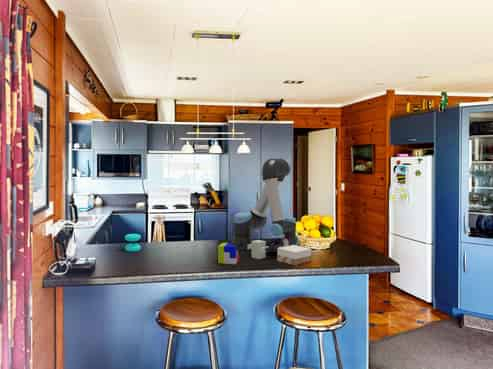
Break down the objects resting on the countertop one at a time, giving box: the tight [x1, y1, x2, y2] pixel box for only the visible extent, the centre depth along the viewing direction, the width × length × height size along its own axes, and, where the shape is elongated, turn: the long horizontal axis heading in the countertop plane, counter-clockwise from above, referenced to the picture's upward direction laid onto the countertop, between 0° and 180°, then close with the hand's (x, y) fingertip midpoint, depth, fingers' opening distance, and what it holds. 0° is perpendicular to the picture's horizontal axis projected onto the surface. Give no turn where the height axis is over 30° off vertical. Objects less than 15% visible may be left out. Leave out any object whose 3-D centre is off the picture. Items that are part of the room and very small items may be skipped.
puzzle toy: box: [217, 242, 240, 265], centre depth 239 cm, size 10×10×10 cm
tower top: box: [276, 245, 312, 259], centre depth 241 cm, size 14×14×4 cm
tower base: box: [276, 255, 312, 266], centre depth 242 cm, size 14×14×4 cm
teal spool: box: [124, 233, 142, 252], centre depth 266 cm, size 10×10×10 cm
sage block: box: [250, 239, 267, 260], centre depth 249 cm, size 6×6×10 cm
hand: (254, 248), depth 247 cm, fingers open, 10 cm apart
